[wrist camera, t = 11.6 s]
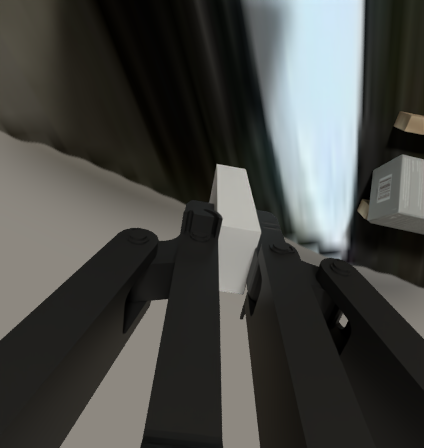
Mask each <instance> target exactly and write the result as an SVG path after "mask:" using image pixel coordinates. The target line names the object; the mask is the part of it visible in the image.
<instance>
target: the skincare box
mask: <svg viewBox="0 0 424 448" xmlns="http://www.w3.org/2000/svg"><path fill="white" fill-rule="evenodd" d="M367 220H368V221H369V222H370V223H373V224H378V225H382V226H387V227H392V228H396V229H401V230H406V231H410V232H415V233H420V234H424V160H423V159H419V158H415V157H411V156H407V155H400V156H398V157H397V158H395V159H393V160H391V161H389V162H388V163H386V164H384V165H382V166H380V167H379V168H377V169H375V170H373V177H372V187H371V195H370V203H369V212H368V219H367Z"/></svg>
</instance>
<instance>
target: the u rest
mask: <svg viewBox="0 0 424 448" xmlns="http://www.w3.org/2000/svg"><path fill="white" fill-rule="evenodd" d="M394 127H396V128H399V129H401V130H403V131H406V132H412V133H417V134H422V135H424V116H421V115H416V114H411V113H406V112H401V111H400V112H399V115H398V117H397V119H396V122H395V124H394ZM369 203H370V200H366V199H362V200H361V203H360V205H359V207H358V210H357V211H358V212H359V213H360V214H361V215H362V216H363V218H364V219H368V212H369Z"/></svg>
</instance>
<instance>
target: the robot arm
mask: <svg viewBox="0 0 424 448" xmlns="http://www.w3.org/2000/svg"><path fill="white" fill-rule="evenodd" d="M246 283H247V290H248V292H247V295H246V299H245V302H244V305H243V308H242V312H241V316H240V319H243V317H244V315H245V314H246V322H247V330H248V340H249V349H250V357H251V367H252V376H253V385H254V394H255V404H256V412H257V422H258V431H259V440H260V448H424V339H423V338H422V337H421V336H420V335H419V334H418V333H417V332H416V331H415V330H414V328H412V326H411V325H410V324H409V323H408V322H407V321H406V320H405V319H404V318H403V317H402V316H401V315H400V314H399V313H398V312H397V311H396V310H395V309H394V308H393V307H392V306H391V305H390V304H389V303H388V302H387V301H386V299H385V298H383V296H382V295H381V294H379V293H378V291H377V290H376V289H375V288H374V287H373V286H372V285H371V284H370V283H369V282H368V281H367V280H366V279H365V278H364V277H363V276H362V275H361V274H360V273H359V272H358V271H357V270H356V269H355V268H354V267H353V266H352V265H350V264H348V263H346V262H345V261H343V260H340V259H333V258H327V259H324V260H322V261H321V263H320V266H319V267H318V266H315V265H312V264H309V263H306V262H304V261H301V259H300V256H299V254H298V252H297V250H296V249H295V248H294V247H293V246H291V245H290V244H288V243H286V242H285V240H284V237H283V234H282V231H281V229H280V226H279V223H278V220H277V218H276V217H275V216H274V215H273V214H272V213H270V212H265V211H259V210H256V209H255V205H254V201H253V197H252V193H251V189H250V185H249V181H248V177H247V173H246V169H242V168H236V167H230V166H225V165H219V164H217V166H216V171H215V176H214V182H213V187H212V192H211V197H210V202H209V203H207V202H201V201H195V200H191V201H190V202H189V203H187V204H186V209H185V211H184V214H183V220H182V227H181V233H180V235H179V236H178V237H177V238H175V239H172V240H168V241H158V237H157V235H155V234H154V233H153V232H151V231H149V230H146V229H141V228H130V229H126V230H123V231H122V232H120V233H118V234H117V235H116V236H115V237H114V238H113V239H112V240H111V241H110V242H108V243H107V244H106V245H105V246H104V247H103V248H102V249H101V250H100V251H98V252H97V253H96V254H95V255H94V256H93V257H92V258H91V259H90V260H89V261H87V262H86V263H85V264H84V265H83V266H82V267H81V268H80V269H79V270H78V271H76V272H75V273H74V274H73V275H72V276H71V277H70V278H69V279H68V280H66V282H64V283H63V284H62V285H61V286H60V287H59V288H58V289H57V290H55V292H53V293H52V294H51V295H50V296H49V297H48V298H47V299H46V300H44V301H43V302H42V303H41V304H40V305H39V306H38V307H37V308H36V309H35V310H34V311H32V312H31V313H30V314H29V315H28V316H27V317H26V318H25V319H23V320H22V321H21V322H20V323H19V324H18V325H17V326H16V327H15V328H14V329H12V331H10V332H9V333H8V334H7V335H6V336H5V337H4V338H3V339H1V340H0V448H59V447H60V446H61V444H62V443H63V441H64V440H65V438H66V437H67V435H68V433H69V432H70V430H71V429H72V427H73V426H74V424H75V422H76V421H77V419H78V418H79V416H80V414H81V413H82V411H83V410H84V408H85V407H86V405H87V404H88V402H89V400H90V399H91V397H92V396H93V394H94V393H95V391H96V389H97V388H98V386H99V385H100V383H101V382H102V380H103V378H104V377H105V375H106V374H107V372H108V371H109V369H110V368H111V366H112V364H113V363H114V361H115V359H116V358H117V357H118V355H119V353H120V352H121V350H122V349H123V347H124V346H125V344H126V342H127V341H128V339H129V338H130V336H131V334H132V333H133V331H134V329H135V328H136V326H137V325H138V323H139V322H140V320H141V319H142V317H143V316H144V314H145V313H146V311H147V309H148V308H149V306H150V303H151V300H161V299H168V304H167V309H166V315H165V321H164V326H163V331H162V336H161V342H160V347H159V353H158V358H157V364H156V370H155V375H154V380H153V386H152V391H151V396H150V402H149V408H148V413H147V418H146V424H145V429H144V434H143V440H142V443H141V447H140V448H223V443H222V408H221V407H222V406H221V358H220V357H221V356H220V305H219V291H224V292H231V293H238V294H243V293H244V290H245V287H246ZM342 314H344V315H345V316H346V317H347V319H348V322H347V324H346V326H345V327H343V326H342V325H341V324H340V323H339V320H340V318H341V316H342Z"/></svg>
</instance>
